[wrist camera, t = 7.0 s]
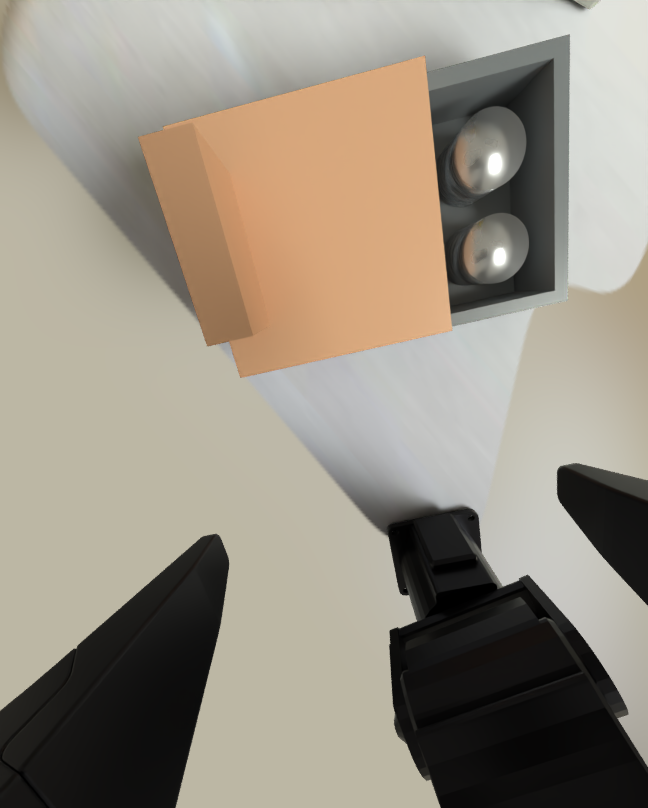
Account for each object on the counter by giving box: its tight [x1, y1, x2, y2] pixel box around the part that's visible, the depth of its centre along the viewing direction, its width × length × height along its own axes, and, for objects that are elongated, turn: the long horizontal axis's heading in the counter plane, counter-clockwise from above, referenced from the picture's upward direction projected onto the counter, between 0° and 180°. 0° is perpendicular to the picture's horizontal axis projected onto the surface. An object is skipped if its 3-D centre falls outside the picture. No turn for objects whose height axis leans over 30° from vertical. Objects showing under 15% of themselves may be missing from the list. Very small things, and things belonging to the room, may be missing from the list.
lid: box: [138, 56, 452, 378], centre depth 12 cm, size 10×10×5 cm
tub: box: [427, 34, 570, 326], centre depth 16 cm, size 10×10×4 cm
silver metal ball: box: [436, 106, 526, 207], centre depth 16 cm, size 3×3×3 cm
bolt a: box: [444, 213, 529, 286], centre depth 17 cm, size 3×3×3 cm
